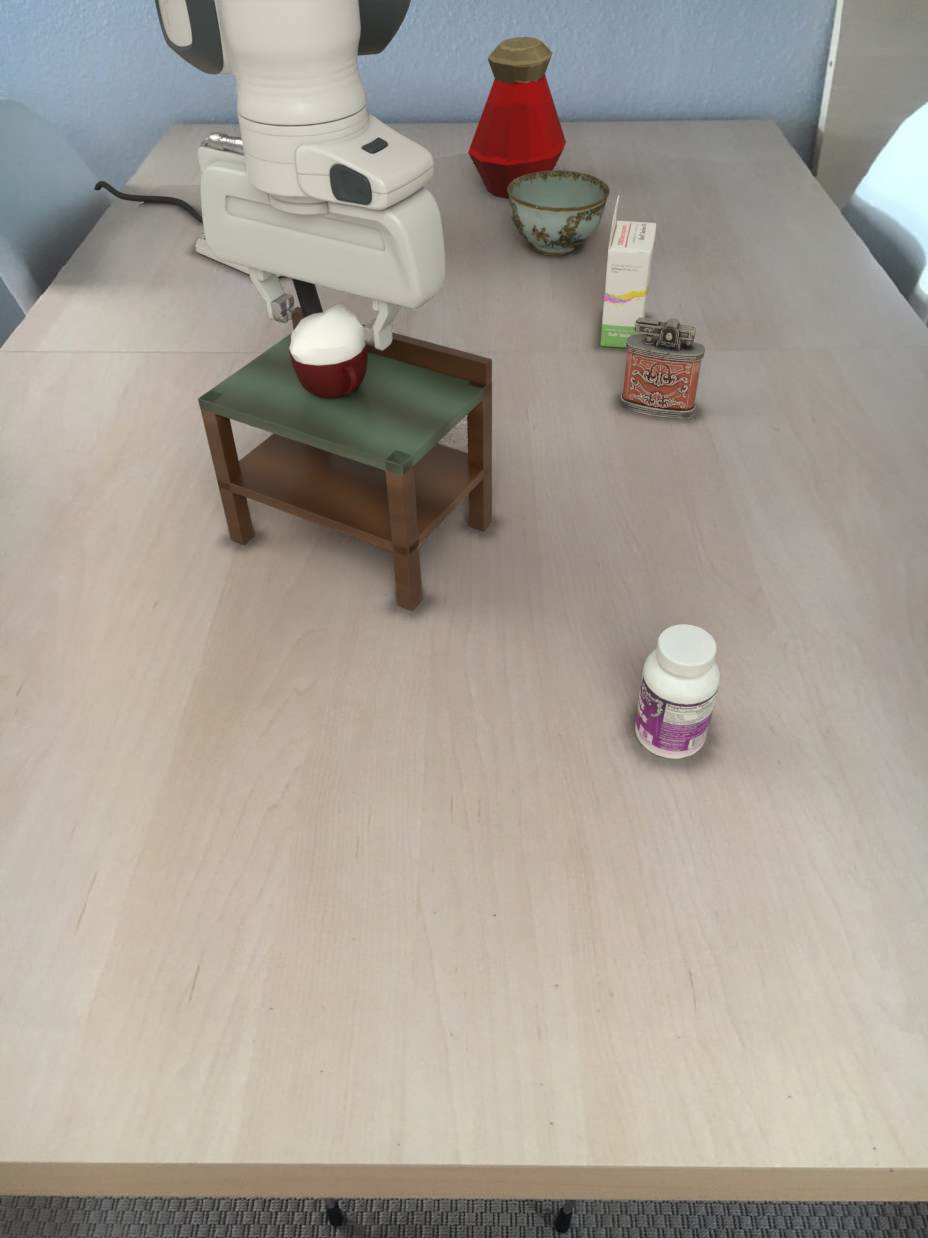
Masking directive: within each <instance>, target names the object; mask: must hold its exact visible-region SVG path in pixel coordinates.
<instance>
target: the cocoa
mask: <svg viewBox="0 0 928 1238" xmlns="http://www.w3.org/2000/svg"><path fill="white" fill-rule="evenodd" d="M291 280H292V283H293V287H294V290H295V293H296V297H297V300H298V303H299V307H301V310H302V313H303V317H304V318H303V319H301V321H300V322H299V324H298V325H297V327H296V328H295V330H293V331H292V332H293V333H292V332H291V333H292V334H291V333H290V334H291V344H290V348H289V349H290V351H289V354H290V358H291V362H292V365H293V368H294V370H295V372H296V375H297V377H298V379H299V381H300V383H301V385H302V387H303V388H304V389H305V390H307V391H308V392H309V393H311V394H313V395H315V396H318V397H322V398H339V397H343V396H346V395H348V394H351V393H353V392H354V391H355V390H356V388H358V387H359V386H360V384H361V383H362V381H363V379H364V376H365V374H366V368H367V359H368V352H367V346H366V345H365V341H364V340H365V339H366V338H365V336H364V330H363V325H362V324H363V323H361V321H360V319H359V318H358V316H357V315H356V314H355V313H354V312H352V311H350V310H349V309H348V308H347V307H346V306H345V305H344V304H343V303H338V304H337V303H336V304H333V305H332V306H330V307H329V308H327V309H326V310H325V311H324V309H323V306H322V303H321V299H320V296H319V292H318V289H317V285H316V284H313V283H309V282H305V281H301V280H297V279H293V278H291Z"/></svg>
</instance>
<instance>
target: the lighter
mask: <svg viewBox="0 0 928 1238" xmlns="http://www.w3.org/2000/svg"><path fill="white" fill-rule="evenodd" d="M634 331H635V332H637V333H642V335H641V334H635V335H631V336H629V337H628V338H627V341H626V348H625V349H626V358H625V359H626V360H625V367H624V377H623V387H622V393H621V394H620V400H619V405H620V407H621V408H623V409H624V410H628V411H631V412H636V413H638V414H644V415H649V416H653V417H660V418H661V417H662V418H668V419H669V418H671V419H690V418H692V417H693V416H694V415H695V413H696V405H697V404H696V396H697V388H698V383H699V379H700V372H701V365H702V360H703V359H704V357H705V350H706V347H705V346H704V345H703V344H702V343H700V342H697V341H694V340H695V338H696V331H697V327H696V326H694V325H689V324H683V323H680V321H679V320H678V319H677V318H673V317H672V318H668V319H667V320H666V321H661V320H660V319H656V318H649V317H645V318H642V317H639V318H638V319H637V320H636V321H635V330H634Z"/></svg>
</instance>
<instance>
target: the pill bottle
mask: <svg viewBox="0 0 928 1238" xmlns="http://www.w3.org/2000/svg"><path fill="white" fill-rule="evenodd" d="M717 648H718V647H717V643H716V640H715V639H714V637H713V636H712V635H711V634H710V633H709V632H708V631H707V630H705V629H704V628H702V627H700V626H696V625H693V624H687V623H679V624H675V625H671V626H668V627H667V628H665V629H664V630H663V631H661V633H660V634H659V637H658V639H657V643H656V648H654V649H653V651H651V652H650V653H649V655H648V656H647V658H646V660H645V661H644V665H643V669H642V675H641V681H640V688H639V696H638V702H637V709H636V716H635V724H634V728H635V735H636V738H637V739H638V741H639V743H640V744H641V746H643V747H644V748H645V749H646V750H647V751H649V752H650V753H652V754H654V755H656V756H658V757H662V758H665V759H672V760H677V759H678V760H679V759H684V758H688V757H691V756H693V755H695V754H696V753H697V752H698V751H700V750H701V749H702V747H703V746H704V744H705V742H706V739H707V735H708V732H709V728H710V723H711V721H712V720H711V719H712V715H713V712H714V708H715V703H716V701H717V700H716V699H717V695H718V691H719V688H720V683H721V682H720V681H721V672H720V671H721V670H720V668H719V667H720V666H719V665H718V663H717V661H716V656H717V650H718V649H717Z"/></svg>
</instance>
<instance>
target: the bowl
mask: <svg viewBox="0 0 928 1238" xmlns="http://www.w3.org/2000/svg"><path fill="white" fill-rule="evenodd" d="M507 192H508V194H509V198H508V201H509V210H510V215H511V216H510V217H511V220H512V223H513V224H514V226H515V228H516V230H517V232H518V233H519V234H520V235H521V236H522V237H523V239H525V240H526V241H527V242H529V243H531V244H532V247H533V250H534V251H535V252H537V253H539V254H540V255H543V256H551V257H559V256H561V257H562V256H566V255H569V254H572V253H573V252H575V251H576V250H577V248H578V246H579V245H580V244H583V243H584V242H586V241H587V240H588V239H589V238H590V237H591V236H592V235H593V234H594V233H595V231H596V230H597V229H598V227H599V225H600V223H601V221H602V218H603V216H604V212H605V208H606V203H607V200H608V198H609V196H610V187H609V185H608V184H607V183H606V182H605V181H603V179H602V180H601V179H600V178H598V177H595V176H594V175H591V174H587V173H582V172H578V171H572V170H571V171H570V170H553V171H542V172H536V173H530V174H526V175H523V176H521V177H518V178H516V179H514V180H513V181H512V182H511V183H510V184H509V185H508V188H507Z"/></svg>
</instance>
